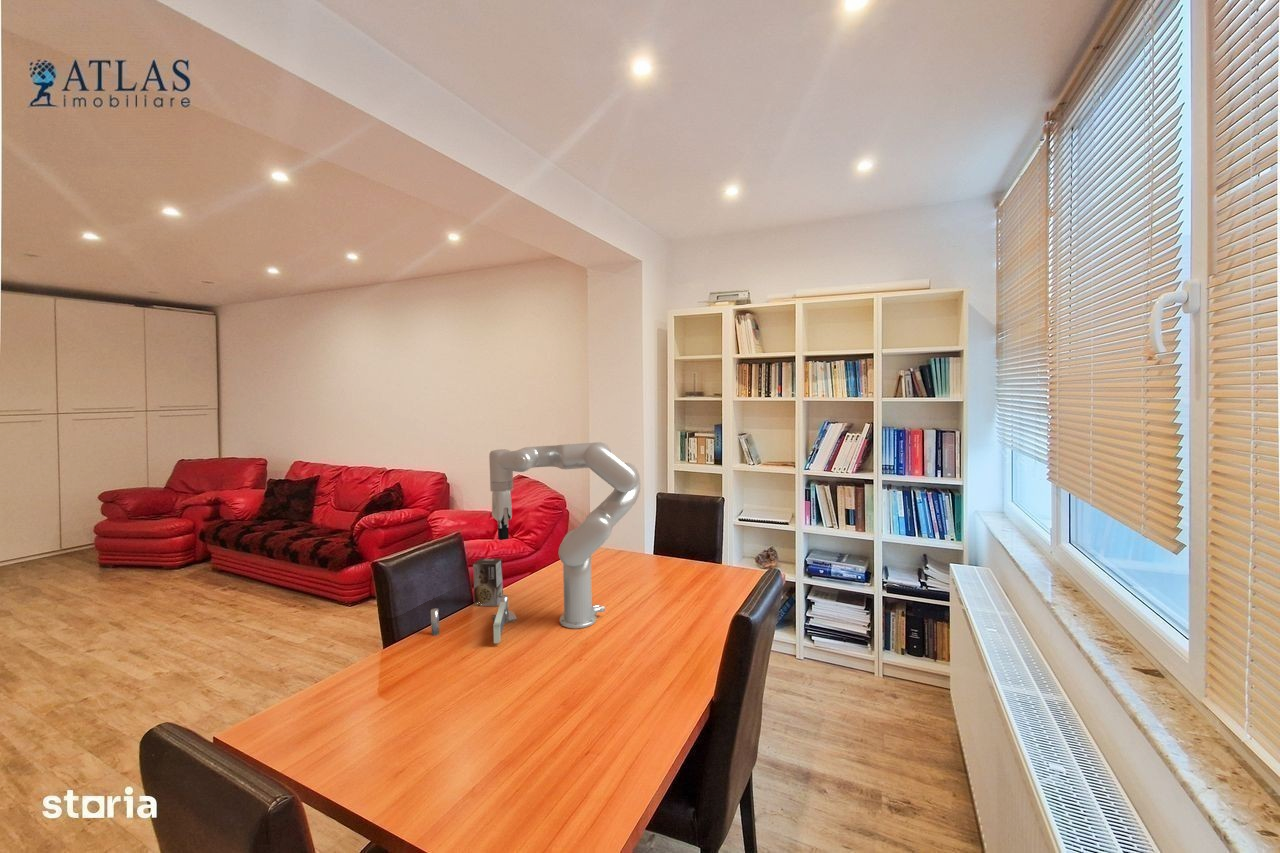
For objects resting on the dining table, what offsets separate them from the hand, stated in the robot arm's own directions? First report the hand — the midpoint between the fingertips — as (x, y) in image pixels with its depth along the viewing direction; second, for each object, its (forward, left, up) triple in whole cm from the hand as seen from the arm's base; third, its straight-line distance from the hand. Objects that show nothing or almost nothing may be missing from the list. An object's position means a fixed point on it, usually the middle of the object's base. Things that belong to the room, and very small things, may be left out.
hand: (503, 538), depth 171 cm
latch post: (+22, -2, -29) cm, 37 cm away
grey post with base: (0, -2, -29) cm, 29 cm away
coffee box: (+2, -19, -29) cm, 35 cm away
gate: (+4, +8, -28) cm, 29 cm away
